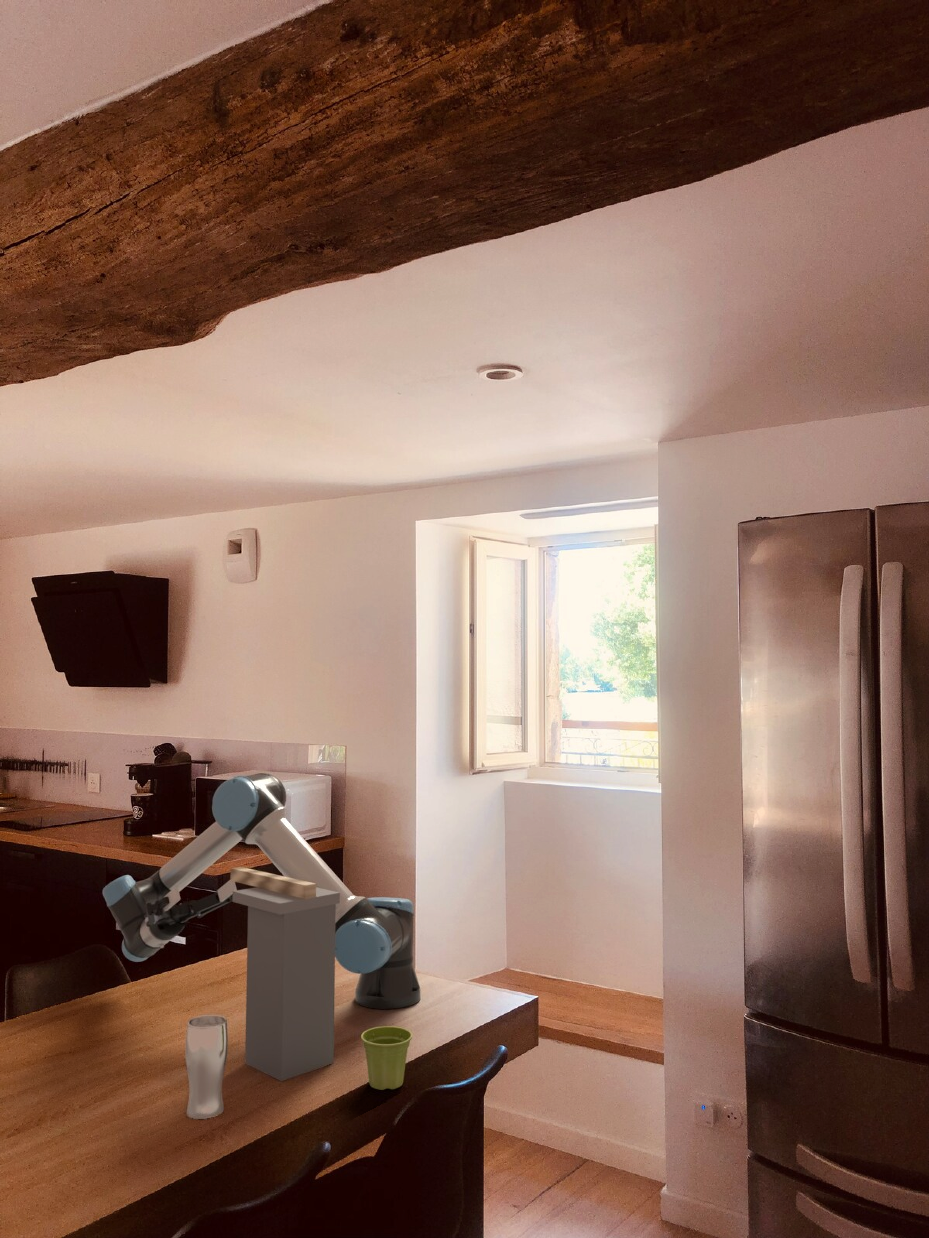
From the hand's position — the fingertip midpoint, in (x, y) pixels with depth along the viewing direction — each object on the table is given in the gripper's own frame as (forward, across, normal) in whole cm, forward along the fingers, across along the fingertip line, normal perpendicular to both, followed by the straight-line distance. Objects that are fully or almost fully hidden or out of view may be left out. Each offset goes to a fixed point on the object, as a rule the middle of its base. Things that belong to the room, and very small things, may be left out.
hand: (206, 888), depth 209 cm
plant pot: (+30, -7, -51) cm, 60 cm away
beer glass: (+19, +22, -44) cm, 53 cm away
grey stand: (+11, 0, -39) cm, 41 cm away
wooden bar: (+22, 0, -9) cm, 24 cm away
